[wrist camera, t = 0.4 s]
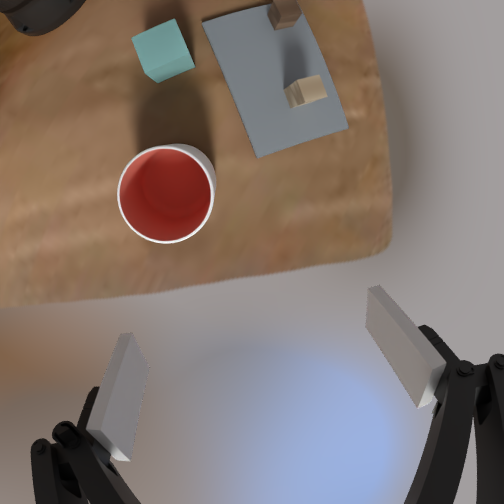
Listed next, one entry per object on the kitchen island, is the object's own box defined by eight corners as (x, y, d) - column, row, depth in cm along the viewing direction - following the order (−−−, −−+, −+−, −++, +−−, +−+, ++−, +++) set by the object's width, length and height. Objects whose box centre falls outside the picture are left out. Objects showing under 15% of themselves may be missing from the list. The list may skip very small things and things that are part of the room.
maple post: (283, 89, 32) (296, 80, 26) (302, 84, 32) (319, 74, 26) (290, 108, 33) (305, 102, 27) (309, 102, 33) (327, 96, 27)
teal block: (145, 52, 29) (131, 37, 23) (182, 36, 29) (174, 18, 23) (157, 83, 31) (144, 73, 25) (195, 67, 31) (189, 53, 25)
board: (202, 26, 29) (201, 22, 28) (293, 2, 28) (295, -1, 27) (256, 157, 37) (257, 158, 35) (345, 128, 36) (348, 128, 35)
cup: (175, 127, 34) (159, 124, 25) (232, 177, 37) (235, 191, 28) (127, 185, 36) (99, 202, 27) (182, 232, 39) (170, 262, 30)
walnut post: (267, 15, 28) (273, 0, 23) (285, 11, 28) (294, -4, 23) (274, 30, 29) (281, 16, 24) (292, 26, 29) (302, 12, 24)
